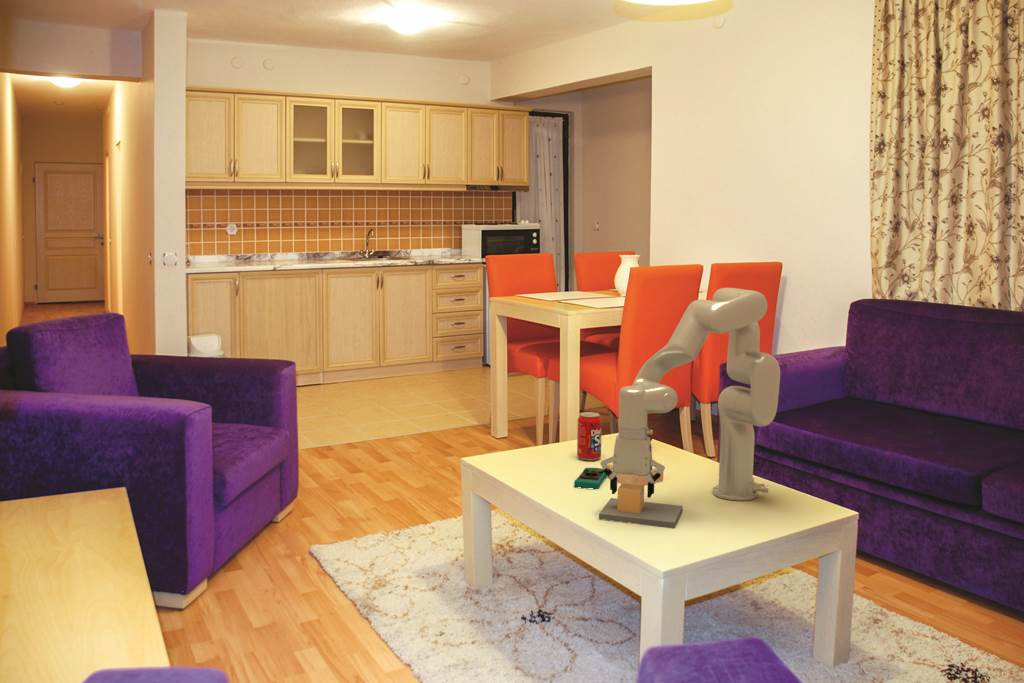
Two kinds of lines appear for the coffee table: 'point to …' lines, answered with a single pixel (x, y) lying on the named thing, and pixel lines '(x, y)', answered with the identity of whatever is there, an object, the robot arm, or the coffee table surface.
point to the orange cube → (630, 498)
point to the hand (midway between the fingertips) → (632, 494)
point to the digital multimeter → (590, 478)
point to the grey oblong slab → (644, 514)
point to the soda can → (589, 436)
